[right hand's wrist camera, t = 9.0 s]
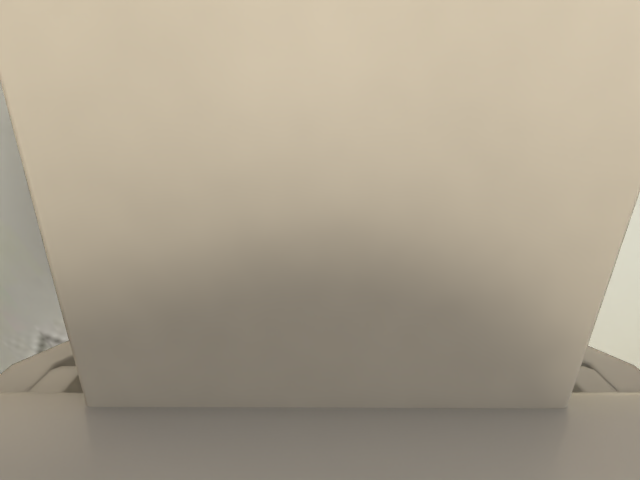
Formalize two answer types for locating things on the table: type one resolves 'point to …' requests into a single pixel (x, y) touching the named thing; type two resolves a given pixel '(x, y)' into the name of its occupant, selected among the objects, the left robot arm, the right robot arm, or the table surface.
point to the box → (327, 193)
